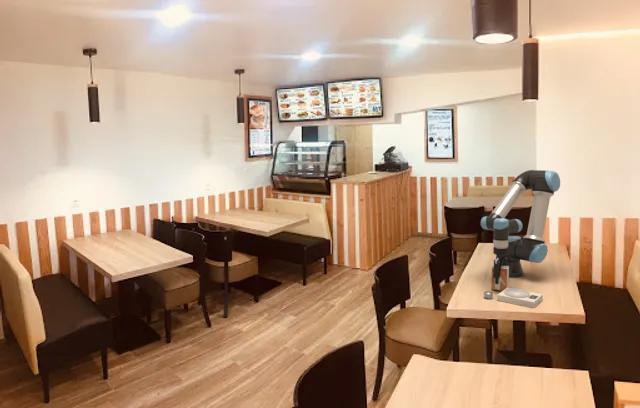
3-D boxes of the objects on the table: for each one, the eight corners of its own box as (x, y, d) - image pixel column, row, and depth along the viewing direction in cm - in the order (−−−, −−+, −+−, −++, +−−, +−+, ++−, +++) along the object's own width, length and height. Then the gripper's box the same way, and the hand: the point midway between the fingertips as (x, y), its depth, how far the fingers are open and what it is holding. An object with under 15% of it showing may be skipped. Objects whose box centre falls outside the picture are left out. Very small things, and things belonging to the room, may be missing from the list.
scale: (497, 300, 236) (497, 293, 235) (506, 292, 246) (507, 285, 245) (533, 308, 224) (534, 300, 223) (542, 299, 234) (542, 292, 233)
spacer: (485, 296, 243) (485, 290, 242) (494, 297, 240) (494, 292, 239) (482, 298, 240) (482, 292, 239) (490, 300, 237) (491, 294, 236)
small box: (491, 290, 251) (491, 267, 249) (493, 286, 256) (493, 264, 254) (507, 292, 247) (507, 268, 245) (508, 288, 252) (509, 265, 250)
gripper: (500, 242, 258) (500, 281, 261) (486, 249, 243) (486, 291, 247) (514, 244, 253) (513, 283, 256) (500, 251, 238) (500, 293, 242)
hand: (500, 287), depth 251 cm, fingers closed on small box, 7 cm apart
